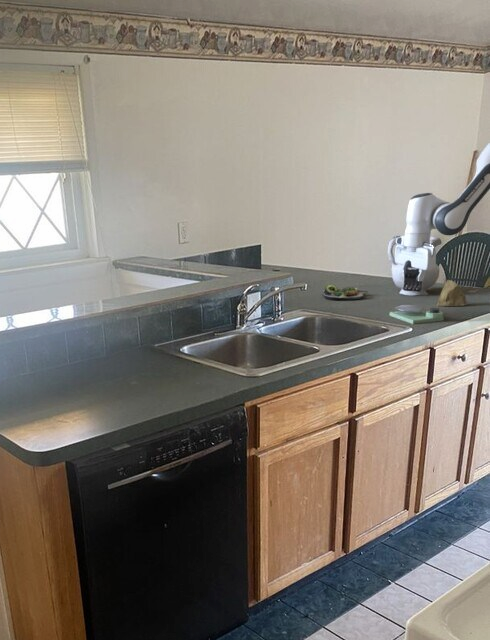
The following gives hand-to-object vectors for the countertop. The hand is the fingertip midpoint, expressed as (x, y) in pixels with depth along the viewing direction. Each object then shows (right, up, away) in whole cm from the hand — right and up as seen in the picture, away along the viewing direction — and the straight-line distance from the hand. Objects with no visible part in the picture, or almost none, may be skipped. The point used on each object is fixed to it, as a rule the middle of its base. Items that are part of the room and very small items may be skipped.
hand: (412, 279), depth 243 cm
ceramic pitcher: (+16, +4, +45) cm, 48 cm away
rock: (+24, -6, +20) cm, 32 cm away
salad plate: (-15, +3, +44) cm, 47 cm away
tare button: (+8, -13, -1) cm, 15 cm away
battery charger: (0, -4, +2) cm, 5 cm away
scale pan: (0, -10, +4) cm, 11 cm away
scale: (+3, -14, +4) cm, 15 cm away
